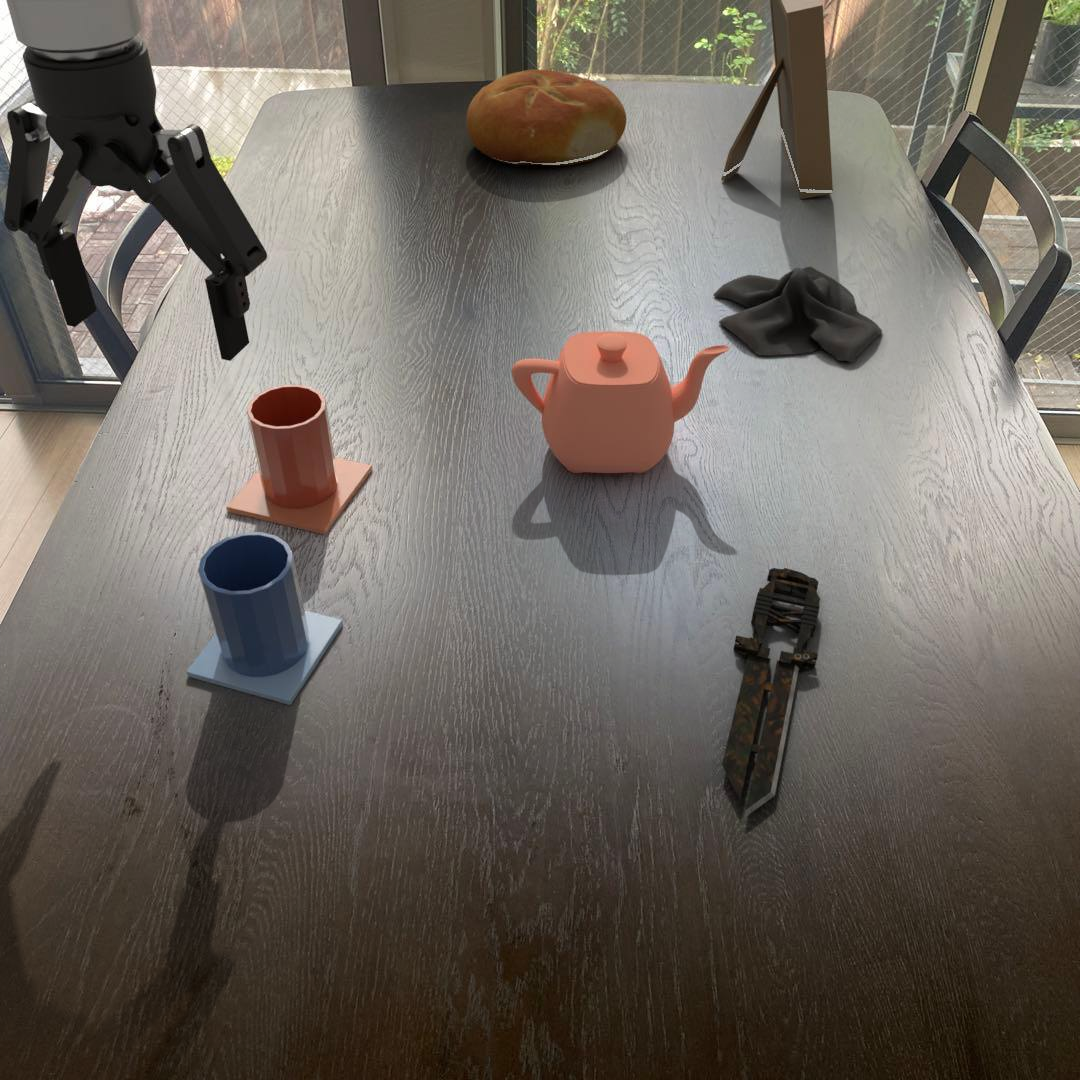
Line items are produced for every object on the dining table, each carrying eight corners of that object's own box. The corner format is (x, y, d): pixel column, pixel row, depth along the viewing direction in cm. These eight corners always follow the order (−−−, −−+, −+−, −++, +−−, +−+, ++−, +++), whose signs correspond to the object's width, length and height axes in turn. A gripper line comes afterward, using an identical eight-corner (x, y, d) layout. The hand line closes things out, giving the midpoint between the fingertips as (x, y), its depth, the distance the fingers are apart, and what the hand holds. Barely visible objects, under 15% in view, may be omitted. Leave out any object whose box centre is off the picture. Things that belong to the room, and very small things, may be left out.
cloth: (894, 367, 118) (907, 317, 114) (723, 362, 118) (730, 313, 114) (857, 269, 134) (867, 222, 130) (708, 266, 135) (713, 219, 131)
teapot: (724, 489, 102) (740, 380, 94) (512, 490, 102) (509, 381, 94) (706, 408, 112) (720, 303, 104) (513, 408, 112) (512, 303, 104)
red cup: (250, 500, 100) (232, 420, 94) (286, 457, 104) (271, 378, 98) (316, 515, 98) (302, 435, 92) (350, 471, 103) (338, 392, 97)
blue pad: (187, 676, 84) (185, 671, 84) (246, 599, 91) (245, 594, 90) (290, 705, 82) (289, 700, 82) (343, 624, 89) (342, 619, 88)
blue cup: (205, 665, 84) (180, 582, 78) (249, 606, 89) (229, 524, 83) (283, 686, 83) (263, 603, 77) (323, 625, 88) (308, 543, 82)
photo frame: (809, 138, 166) (839, -42, 149) (831, 199, 149) (868, 5, 133) (712, 136, 166) (731, -43, 149) (724, 197, 150) (747, 3, 133)
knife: (764, 830, 74) (767, 818, 73) (674, 798, 76) (676, 787, 75) (838, 592, 92) (841, 581, 91) (763, 572, 93) (766, 560, 92)
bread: (607, 186, 153) (610, 114, 146) (448, 169, 157) (445, 99, 150) (634, 126, 169) (638, 59, 162) (490, 113, 173) (488, 47, 166)
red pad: (227, 511, 99) (225, 506, 99) (280, 449, 106) (279, 444, 106) (325, 535, 97) (324, 530, 96) (372, 470, 104) (372, 465, 103)
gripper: (288, 47, 68) (327, 340, 82) (-37, 2, 74) (52, 282, 88) (224, 86, 63) (277, 392, 77) (-121, 34, 68) (-12, 327, 83)
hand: (157, 334), depth 82 cm, fingers open, 13 cm apart
